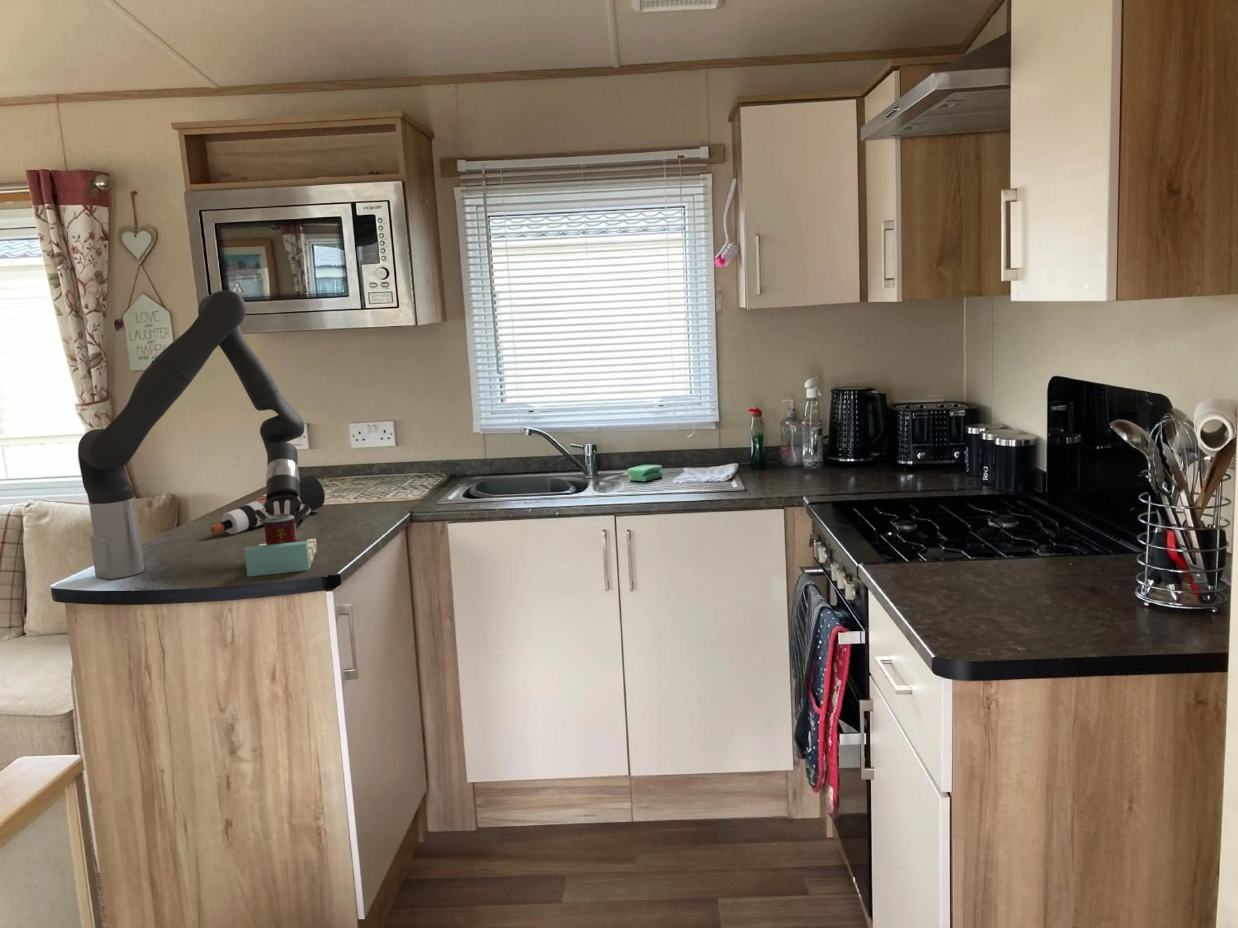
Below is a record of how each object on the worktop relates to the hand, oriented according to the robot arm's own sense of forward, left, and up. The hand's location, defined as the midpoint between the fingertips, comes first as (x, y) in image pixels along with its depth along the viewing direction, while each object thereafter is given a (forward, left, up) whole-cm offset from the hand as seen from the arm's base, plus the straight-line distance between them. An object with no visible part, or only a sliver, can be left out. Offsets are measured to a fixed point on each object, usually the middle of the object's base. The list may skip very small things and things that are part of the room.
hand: (283, 543), depth 228 cm
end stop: (-6, -6, -4) cm, 10 cm away
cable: (+24, +43, -5) cm, 49 cm away
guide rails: (+1, +1, -4) cm, 5 cm away
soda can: (-2, -3, -5) cm, 6 cm away
